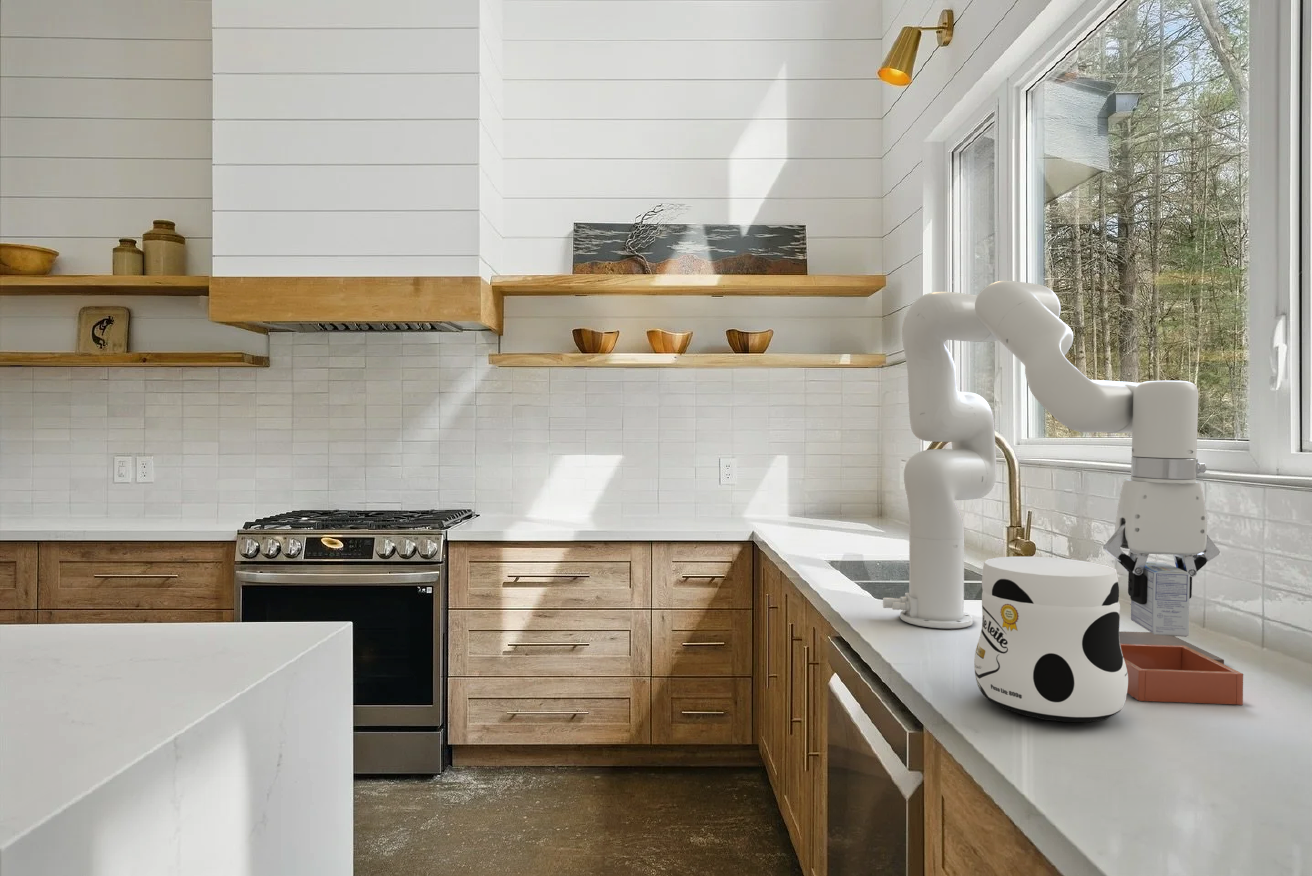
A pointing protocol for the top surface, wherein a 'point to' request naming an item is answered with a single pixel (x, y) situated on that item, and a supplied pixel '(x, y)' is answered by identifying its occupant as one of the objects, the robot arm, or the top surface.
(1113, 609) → the milk container
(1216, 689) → the orange hollow square frame
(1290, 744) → the top surface
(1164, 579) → the medicine box
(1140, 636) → the walnut board
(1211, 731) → the top surface
